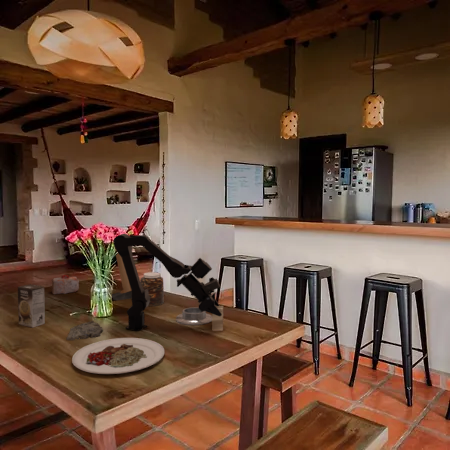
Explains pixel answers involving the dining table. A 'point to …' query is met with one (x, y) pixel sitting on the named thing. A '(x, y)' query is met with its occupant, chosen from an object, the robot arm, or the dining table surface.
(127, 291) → the hammer
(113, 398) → the dining table surface
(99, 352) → the plated food
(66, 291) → the food item
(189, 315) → the steel rosette
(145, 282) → the jar
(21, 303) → the coffee box
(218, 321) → the wedge pin
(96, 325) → the stone slab
